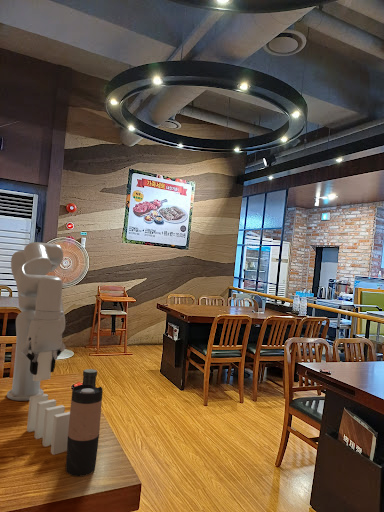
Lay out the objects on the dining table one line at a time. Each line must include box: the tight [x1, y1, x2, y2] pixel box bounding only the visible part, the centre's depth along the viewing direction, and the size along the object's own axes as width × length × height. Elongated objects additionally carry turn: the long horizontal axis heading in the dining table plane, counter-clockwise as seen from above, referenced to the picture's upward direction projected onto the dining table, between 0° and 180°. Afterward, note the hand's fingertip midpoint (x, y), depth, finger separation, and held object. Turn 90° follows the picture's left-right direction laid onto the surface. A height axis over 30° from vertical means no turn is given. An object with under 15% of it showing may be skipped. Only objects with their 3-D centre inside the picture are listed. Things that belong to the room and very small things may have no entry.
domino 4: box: [41, 404, 66, 447], centre depth 108 cm, size 2×5×10 cm, turn 134°
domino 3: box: [33, 399, 57, 440], centre depth 112 cm, size 2×5×10 cm, turn 135°
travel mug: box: [65, 384, 103, 477], centre depth 96 cm, size 8×8×20 cm
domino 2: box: [26, 393, 49, 433], centre depth 116 cm, size 2×5×10 cm, turn 134°
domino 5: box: [50, 411, 70, 456], centre depth 104 cm, size 2×5×10 cm, turn 134°
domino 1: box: [33, 351, 53, 382], centre depth 122 cm, size 2×5×10 cm, turn 137°
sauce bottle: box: [81, 368, 98, 387], centre depth 112 cm, size 6×6×20 cm
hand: (42, 371), depth 122 cm, fingers closed on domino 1, 4 cm apart
